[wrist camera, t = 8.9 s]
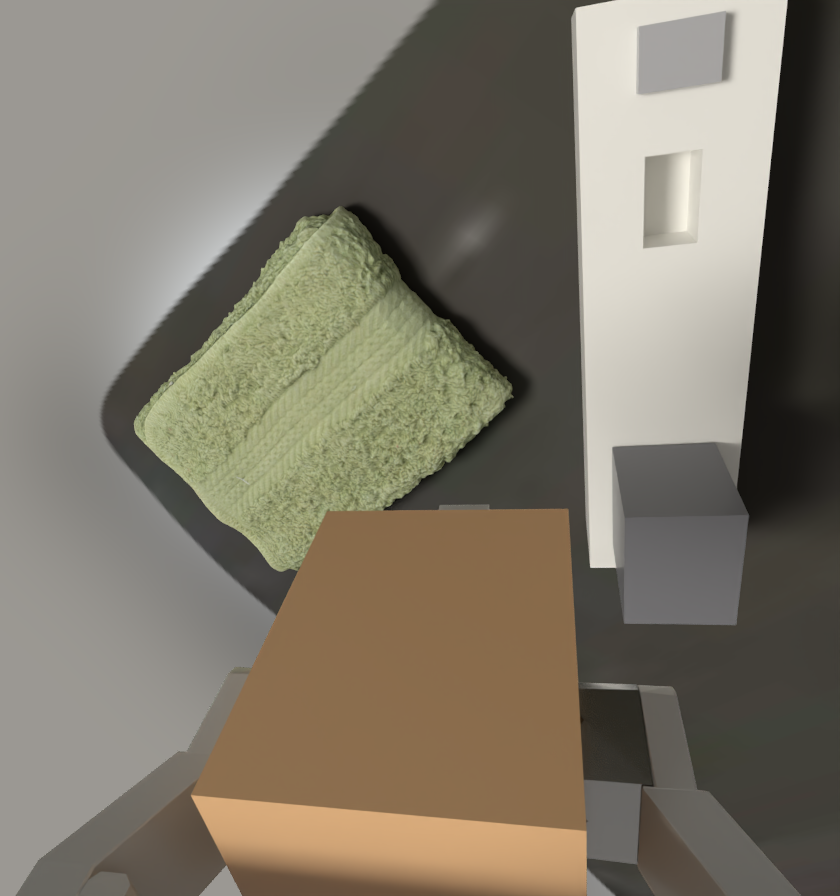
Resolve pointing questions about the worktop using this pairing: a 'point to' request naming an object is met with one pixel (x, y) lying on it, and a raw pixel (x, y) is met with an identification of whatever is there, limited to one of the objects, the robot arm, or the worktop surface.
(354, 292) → the washcloth
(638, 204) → the power strip
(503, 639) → the orange charger
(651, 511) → the block
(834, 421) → the worktop surface
